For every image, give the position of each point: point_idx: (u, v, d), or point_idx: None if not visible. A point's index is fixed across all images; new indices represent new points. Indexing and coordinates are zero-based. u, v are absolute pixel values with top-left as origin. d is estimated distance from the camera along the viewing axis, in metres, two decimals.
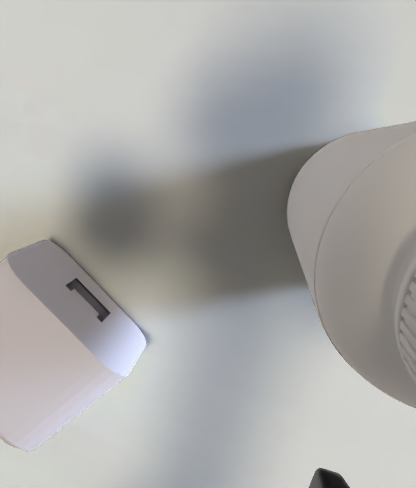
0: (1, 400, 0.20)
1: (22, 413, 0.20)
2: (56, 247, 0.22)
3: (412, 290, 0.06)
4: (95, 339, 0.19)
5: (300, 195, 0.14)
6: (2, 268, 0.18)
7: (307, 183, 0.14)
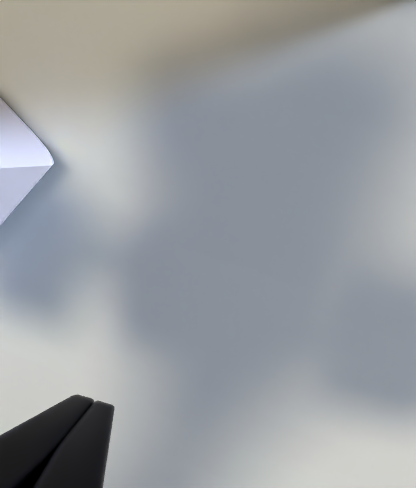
0: None
1: None
2: None
3: None
4: None
5: None
6: None
7: None
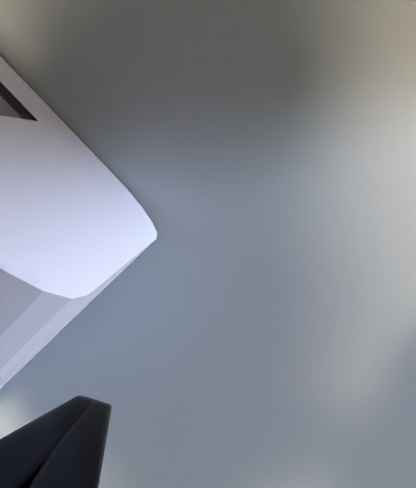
0: None
1: None
2: None
3: None
4: None
5: None
6: None
7: None
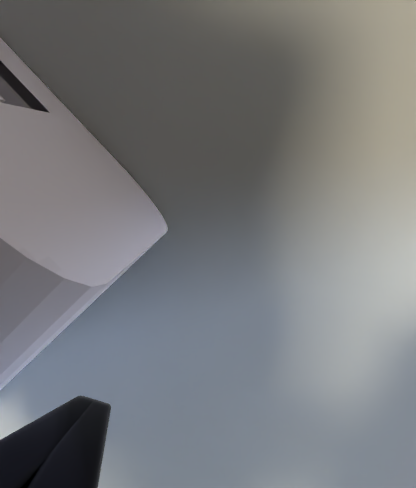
0: None
1: None
2: None
3: None
4: None
5: None
6: None
7: None
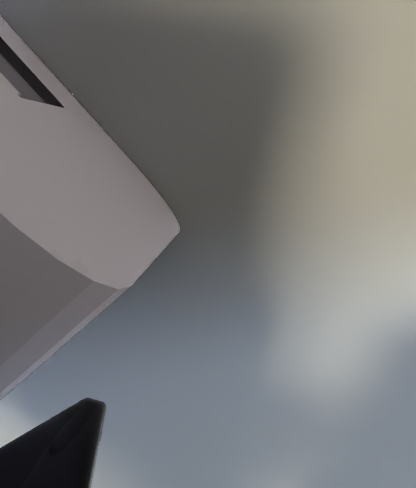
0: None
1: None
2: None
3: None
4: None
5: None
6: None
7: None
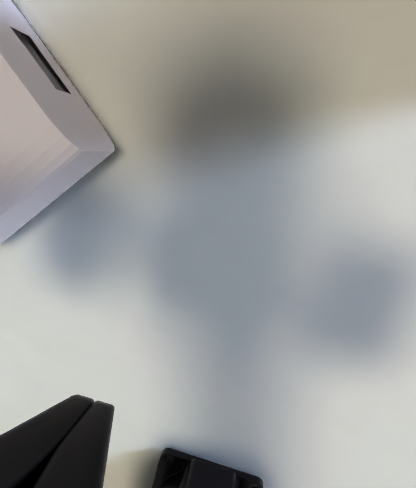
0: None
1: None
2: None
3: None
4: (41, 92, 0.14)
5: None
6: None
7: None
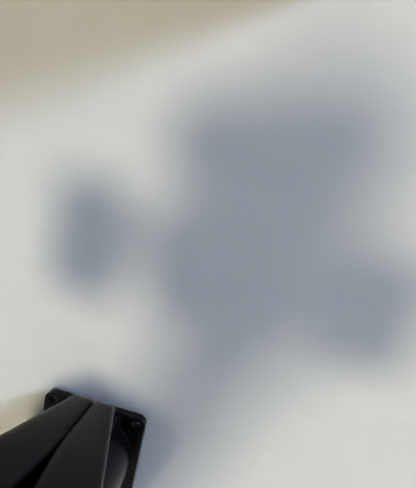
0: None
1: None
2: None
3: None
4: None
5: None
6: None
7: None
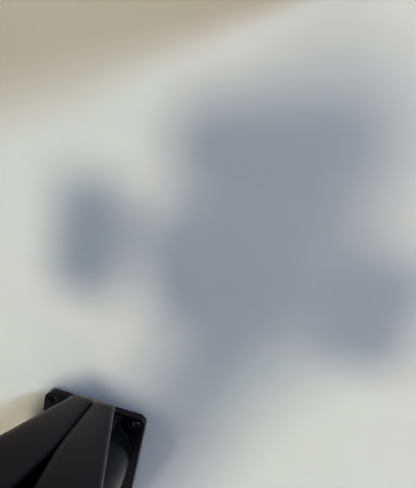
0: None
1: None
2: None
3: None
4: None
5: None
6: None
7: None
